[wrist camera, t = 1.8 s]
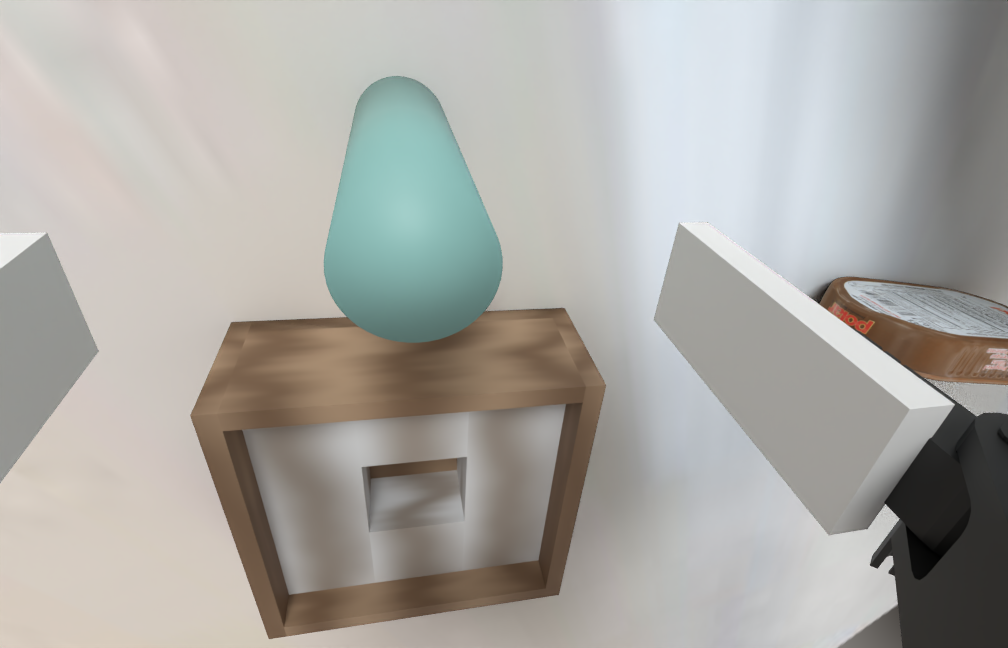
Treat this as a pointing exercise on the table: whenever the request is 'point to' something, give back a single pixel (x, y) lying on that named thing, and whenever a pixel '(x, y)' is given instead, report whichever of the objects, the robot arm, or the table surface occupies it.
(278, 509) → the bore box
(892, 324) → the tin
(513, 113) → the table surface
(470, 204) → the peg
